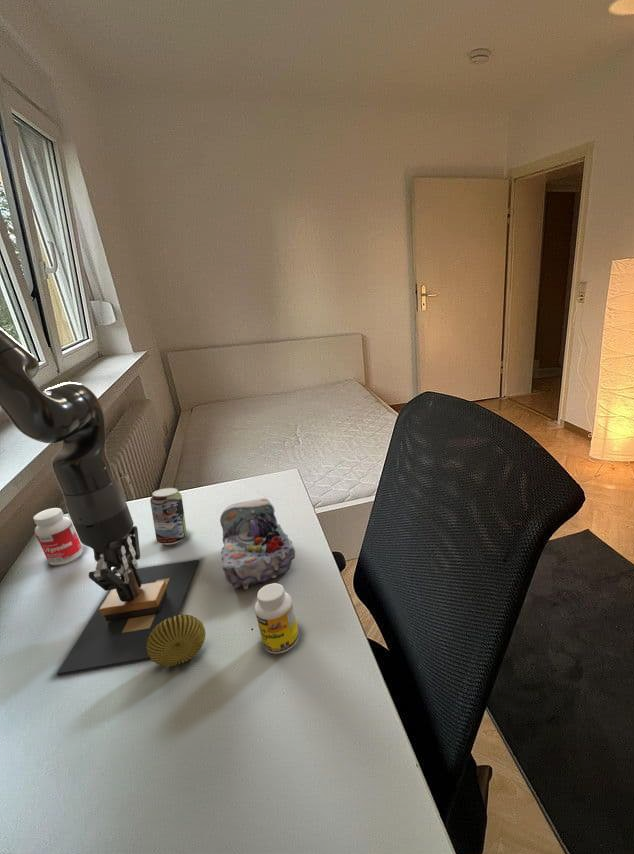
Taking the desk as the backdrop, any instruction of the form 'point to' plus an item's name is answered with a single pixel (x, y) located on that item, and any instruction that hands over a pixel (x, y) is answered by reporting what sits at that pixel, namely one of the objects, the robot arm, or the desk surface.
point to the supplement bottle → (276, 618)
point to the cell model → (253, 544)
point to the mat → (129, 624)
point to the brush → (135, 600)
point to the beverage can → (168, 516)
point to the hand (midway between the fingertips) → (132, 593)
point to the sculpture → (175, 640)
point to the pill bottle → (57, 536)
